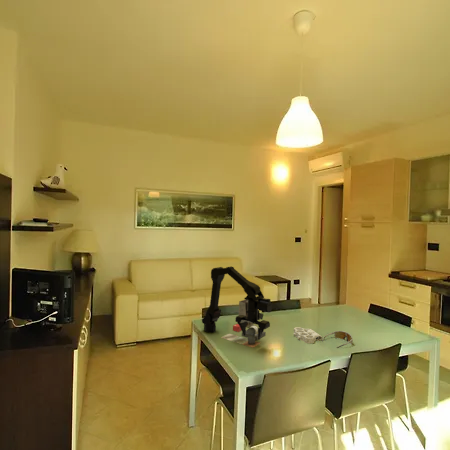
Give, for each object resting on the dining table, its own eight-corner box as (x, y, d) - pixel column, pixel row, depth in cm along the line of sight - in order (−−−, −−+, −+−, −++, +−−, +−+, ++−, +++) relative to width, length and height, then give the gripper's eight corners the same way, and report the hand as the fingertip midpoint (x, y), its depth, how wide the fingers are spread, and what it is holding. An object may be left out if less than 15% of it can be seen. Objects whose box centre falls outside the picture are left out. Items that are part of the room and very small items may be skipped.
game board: (219, 339, 174) (219, 337, 173) (229, 334, 182) (229, 332, 182) (252, 350, 161) (252, 348, 161) (262, 344, 169) (262, 342, 169)
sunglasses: (357, 344, 173) (357, 336, 173) (339, 353, 166) (338, 344, 166) (337, 336, 186) (337, 328, 185) (319, 343, 179) (318, 335, 178)
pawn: (245, 343, 167) (245, 327, 167) (250, 341, 170) (250, 325, 170) (252, 345, 164) (252, 329, 164) (257, 343, 167) (257, 327, 167)
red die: (232, 332, 186) (232, 325, 186) (236, 330, 189) (236, 323, 189) (238, 333, 184) (238, 326, 184) (241, 331, 187) (242, 325, 187)
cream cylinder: (246, 336, 178) (246, 326, 178) (251, 333, 183) (252, 323, 183) (255, 338, 175) (255, 328, 175) (260, 335, 180) (261, 325, 179)
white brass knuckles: (325, 343, 175) (301, 344, 171) (309, 332, 192) (288, 333, 189) (325, 337, 175) (302, 338, 171) (310, 326, 192) (288, 327, 189)
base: (241, 337, 178) (241, 332, 178) (250, 332, 186) (250, 328, 186) (256, 342, 172) (256, 336, 172) (265, 337, 180) (265, 331, 180)
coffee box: (246, 328, 193) (247, 303, 193) (237, 326, 197) (238, 301, 196) (253, 325, 200) (254, 300, 200) (245, 322, 204) (246, 298, 204)
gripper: (275, 308, 168) (274, 337, 168) (246, 302, 179) (245, 329, 179) (265, 313, 159) (264, 343, 159) (235, 306, 170) (234, 334, 170)
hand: (251, 337), depth 167 cm, fingers open, 9 cm apart
